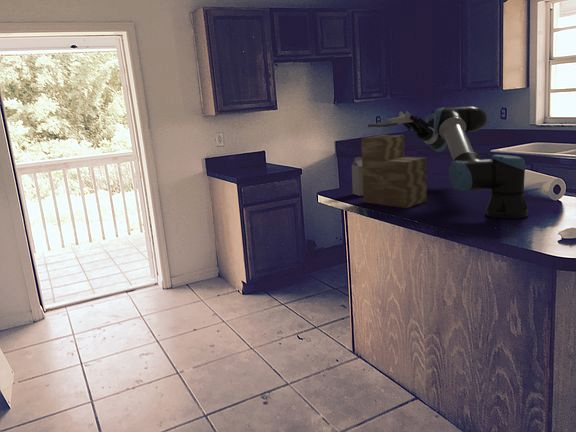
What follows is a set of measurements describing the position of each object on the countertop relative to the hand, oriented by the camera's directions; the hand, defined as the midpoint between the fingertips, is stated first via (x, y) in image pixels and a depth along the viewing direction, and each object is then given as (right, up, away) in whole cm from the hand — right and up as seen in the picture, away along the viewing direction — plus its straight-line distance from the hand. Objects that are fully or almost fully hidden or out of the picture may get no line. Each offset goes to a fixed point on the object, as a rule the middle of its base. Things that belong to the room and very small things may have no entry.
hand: (402, 113), depth 237 cm
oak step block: (-5, -42, -6) cm, 43 cm away
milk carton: (-17, -38, +16) cm, 45 cm away
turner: (-5, -6, -4) cm, 8 cm away
